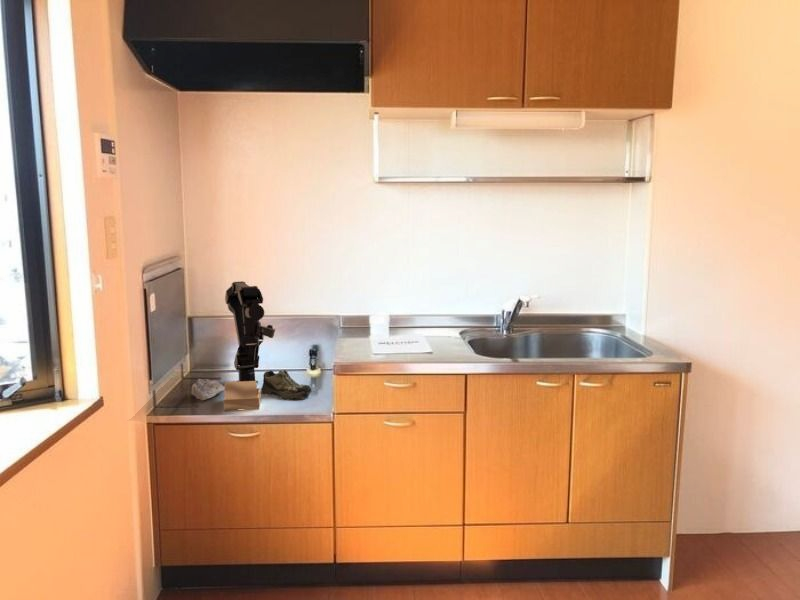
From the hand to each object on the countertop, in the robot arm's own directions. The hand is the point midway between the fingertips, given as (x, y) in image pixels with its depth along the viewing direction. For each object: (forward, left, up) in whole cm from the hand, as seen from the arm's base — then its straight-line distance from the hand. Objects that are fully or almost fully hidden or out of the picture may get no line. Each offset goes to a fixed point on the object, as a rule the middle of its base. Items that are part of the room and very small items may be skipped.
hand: (254, 361), depth 253 cm
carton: (+7, -11, -12) cm, 18 cm away
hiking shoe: (+10, +6, -13) cm, 17 cm away
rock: (-11, -14, -13) cm, 22 cm away
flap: (+12, -15, -5) cm, 19 cm away
